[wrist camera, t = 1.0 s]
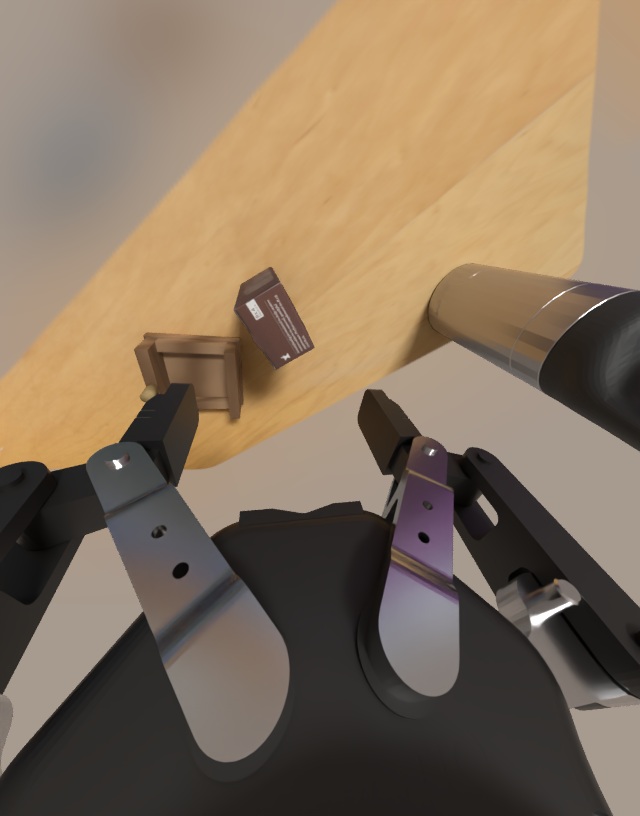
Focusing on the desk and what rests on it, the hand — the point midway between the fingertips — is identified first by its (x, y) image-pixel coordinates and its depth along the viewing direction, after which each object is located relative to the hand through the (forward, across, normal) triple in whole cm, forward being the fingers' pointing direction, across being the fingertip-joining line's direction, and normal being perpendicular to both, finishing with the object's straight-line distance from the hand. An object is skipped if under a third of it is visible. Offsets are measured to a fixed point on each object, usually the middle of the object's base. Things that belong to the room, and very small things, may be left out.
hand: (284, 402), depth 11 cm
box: (+22, 0, 0) cm, 22 cm away
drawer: (+22, +9, +10) cm, 26 cm away
